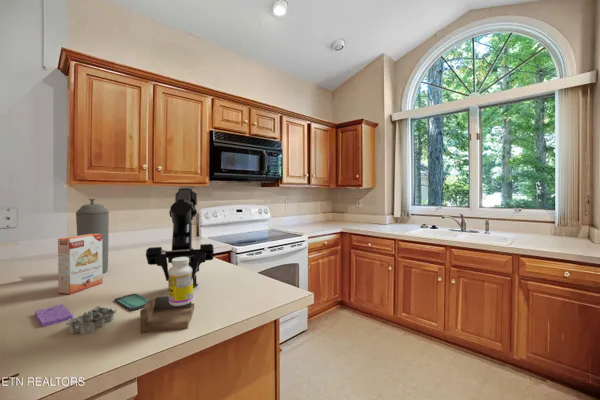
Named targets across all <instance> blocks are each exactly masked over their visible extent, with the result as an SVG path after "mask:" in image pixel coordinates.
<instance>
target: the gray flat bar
mask: <svg viewBox="0 0 600 400" xmlns="http://www.w3.org/2000/svg"><path fill="white" fill-rule="evenodd" d="M192 304H193V300H192V301H191V302H190V303H188V304H185V305H181V306H173V305H171V304H170V303H169V294H167V295H158V296H157V297H156V311H157V310H168V309H180V308H191V306H192Z"/></svg>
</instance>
